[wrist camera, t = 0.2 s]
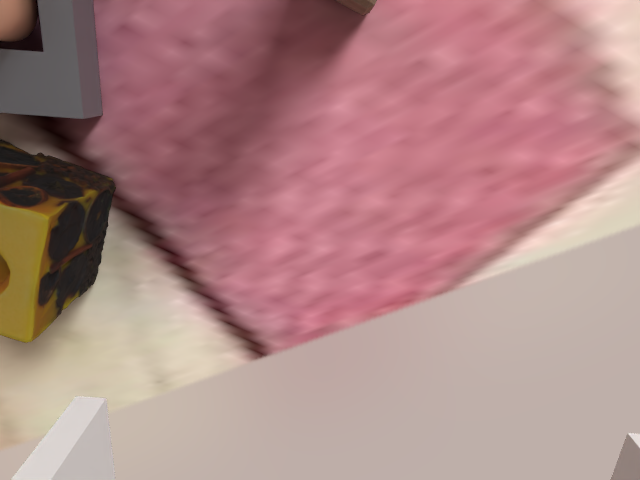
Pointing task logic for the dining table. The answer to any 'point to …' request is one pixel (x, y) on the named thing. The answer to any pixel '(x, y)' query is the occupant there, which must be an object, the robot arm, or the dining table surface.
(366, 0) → the decorative block
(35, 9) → the terracotta button
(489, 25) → the dining table surface
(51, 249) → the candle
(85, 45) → the panel
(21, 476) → the robot arm
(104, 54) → the dining table surface
